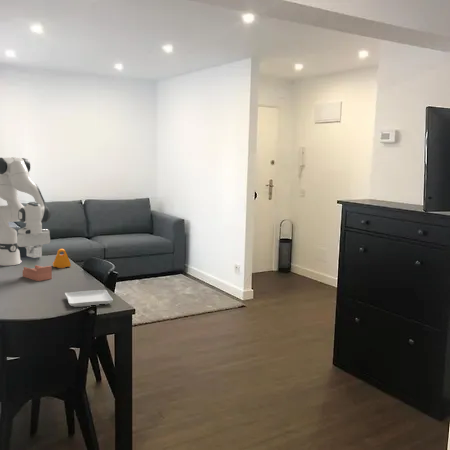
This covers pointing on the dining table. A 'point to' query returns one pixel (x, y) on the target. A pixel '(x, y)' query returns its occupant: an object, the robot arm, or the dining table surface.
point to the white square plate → (88, 298)
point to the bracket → (61, 260)
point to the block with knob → (35, 251)
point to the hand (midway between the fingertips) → (34, 252)
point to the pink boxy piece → (38, 273)
